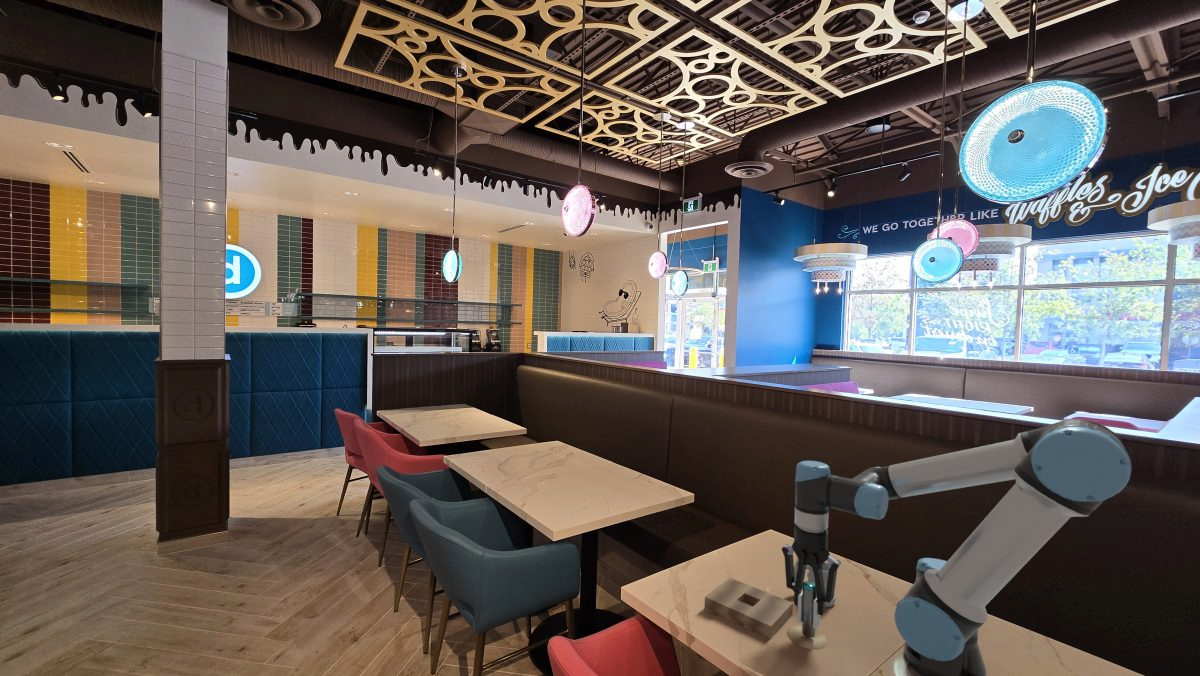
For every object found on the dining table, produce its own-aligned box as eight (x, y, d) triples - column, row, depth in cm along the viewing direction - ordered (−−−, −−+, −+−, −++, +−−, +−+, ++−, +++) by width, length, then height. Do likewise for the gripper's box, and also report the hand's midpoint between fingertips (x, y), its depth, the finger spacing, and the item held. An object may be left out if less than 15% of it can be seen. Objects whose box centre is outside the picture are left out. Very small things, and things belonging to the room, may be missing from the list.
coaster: (831, 638, 119) (831, 636, 119) (819, 656, 112) (819, 654, 112) (794, 622, 125) (794, 621, 125) (780, 638, 118) (780, 636, 118)
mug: (838, 611, 131) (839, 567, 130) (790, 602, 134) (792, 559, 134) (833, 596, 138) (835, 554, 138) (788, 588, 142) (790, 547, 141)
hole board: (792, 616, 128) (793, 602, 128) (770, 640, 118) (771, 626, 117) (729, 589, 140) (729, 577, 140) (704, 609, 130) (704, 596, 130)
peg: (817, 633, 118) (818, 584, 118) (812, 639, 116) (813, 589, 116) (804, 628, 121) (805, 580, 120) (799, 633, 118) (801, 584, 118)
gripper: (851, 531, 115) (849, 630, 116) (784, 513, 126) (782, 603, 127) (841, 541, 110) (839, 644, 110) (772, 521, 121) (770, 616, 121)
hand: (808, 622), depth 118 cm, fingers closed on peg, 3 cm apart
